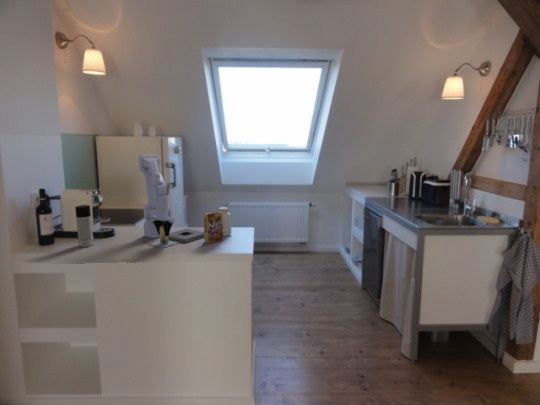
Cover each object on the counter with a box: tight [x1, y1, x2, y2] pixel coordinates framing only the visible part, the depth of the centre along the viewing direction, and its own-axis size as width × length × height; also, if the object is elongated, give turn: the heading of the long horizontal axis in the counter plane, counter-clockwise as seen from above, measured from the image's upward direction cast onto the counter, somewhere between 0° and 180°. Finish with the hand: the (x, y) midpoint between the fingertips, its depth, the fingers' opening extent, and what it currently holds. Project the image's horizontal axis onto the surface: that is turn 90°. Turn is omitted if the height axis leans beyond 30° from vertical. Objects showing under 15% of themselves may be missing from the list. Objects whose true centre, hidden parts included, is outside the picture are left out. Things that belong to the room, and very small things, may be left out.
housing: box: [169, 228, 204, 244], centre depth 203 cm, size 16×16×2 cm
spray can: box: [74, 204, 94, 248], centre depth 188 cm, size 7×7×20 cm
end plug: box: [159, 225, 170, 243], centre depth 190 cm, size 4×4×8 cm
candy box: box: [203, 210, 224, 244], centre depth 194 cm, size 9×4×15 cm, turn 123°
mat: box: [149, 240, 180, 249], centre depth 191 cm, size 10×10×1 cm
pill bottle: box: [218, 206, 232, 237], centre depth 207 cm, size 8×8×15 cm
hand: (163, 235), depth 190 cm, fingers closed on end plug, 4 cm apart
